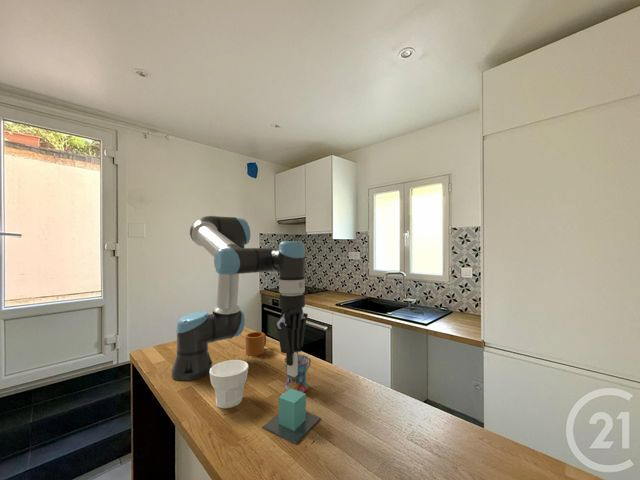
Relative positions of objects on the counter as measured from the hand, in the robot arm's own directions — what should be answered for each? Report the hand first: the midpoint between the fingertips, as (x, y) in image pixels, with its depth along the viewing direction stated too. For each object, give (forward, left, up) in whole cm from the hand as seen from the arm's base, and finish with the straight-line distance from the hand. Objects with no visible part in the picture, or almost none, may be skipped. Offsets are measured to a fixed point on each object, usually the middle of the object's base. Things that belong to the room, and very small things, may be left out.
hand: (292, 374), depth 78 cm
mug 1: (-47, +33, -14) cm, 59 cm away
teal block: (0, 0, -14) cm, 14 cm away
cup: (-25, -2, -14) cm, 29 cm away
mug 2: (-10, +17, -14) cm, 24 cm away
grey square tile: (0, 0, -14) cm, 14 cm away
